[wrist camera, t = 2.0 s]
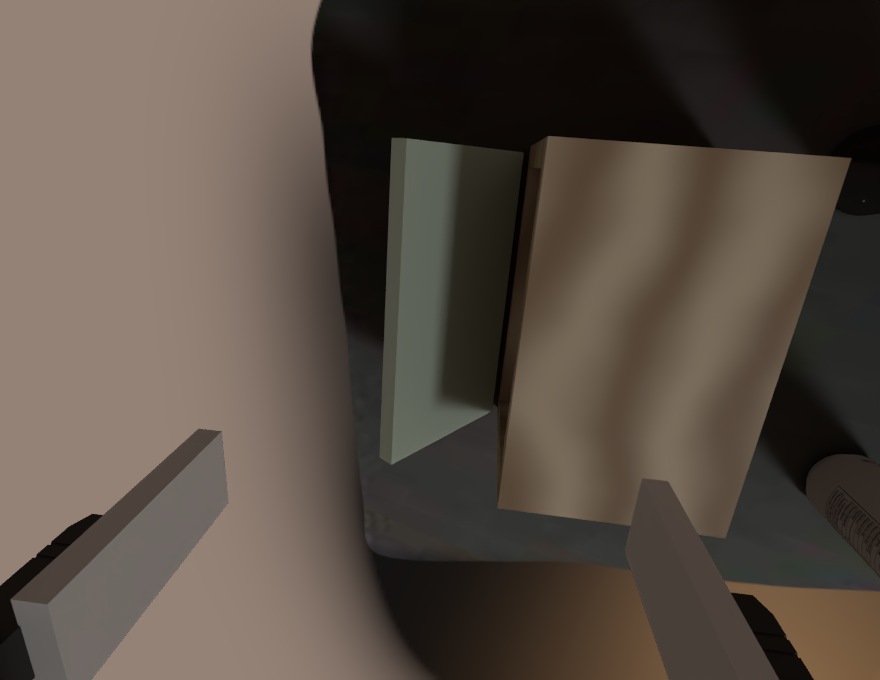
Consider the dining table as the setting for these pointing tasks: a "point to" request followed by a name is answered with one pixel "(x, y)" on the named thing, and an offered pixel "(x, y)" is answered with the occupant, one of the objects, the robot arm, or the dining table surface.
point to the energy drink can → (849, 501)
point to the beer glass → (861, 173)
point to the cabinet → (652, 321)
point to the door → (444, 287)
